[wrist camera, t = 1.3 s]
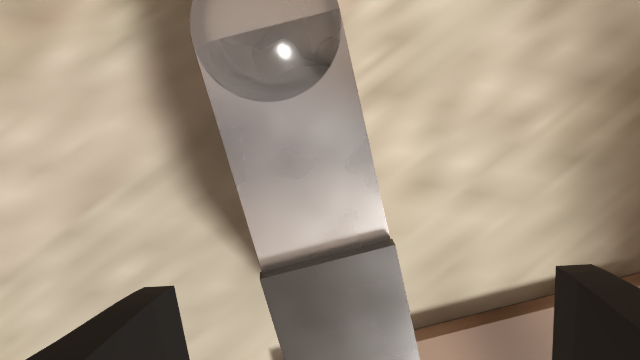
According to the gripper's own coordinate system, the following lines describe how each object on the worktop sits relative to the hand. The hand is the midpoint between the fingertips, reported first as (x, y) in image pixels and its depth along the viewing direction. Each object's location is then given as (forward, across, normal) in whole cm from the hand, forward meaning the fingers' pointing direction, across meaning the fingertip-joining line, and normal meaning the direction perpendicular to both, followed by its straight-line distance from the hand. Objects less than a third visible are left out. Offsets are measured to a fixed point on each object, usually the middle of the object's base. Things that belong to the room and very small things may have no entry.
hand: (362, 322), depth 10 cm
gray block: (+10, +2, 0) cm, 10 cm away
